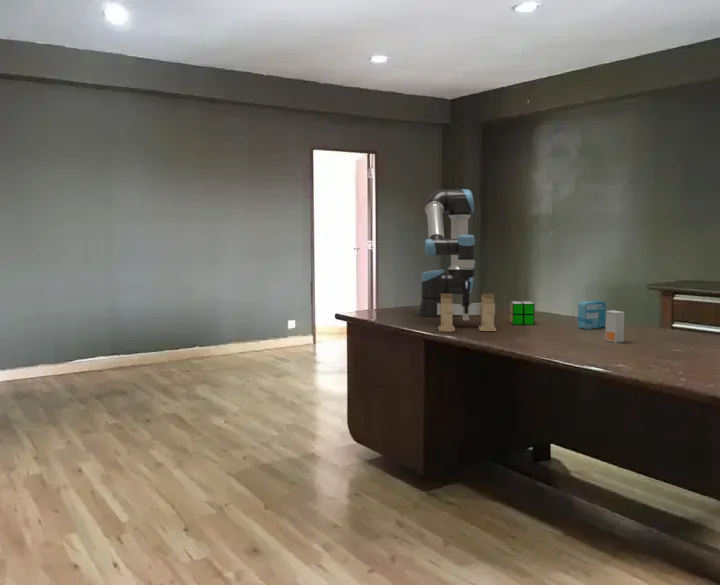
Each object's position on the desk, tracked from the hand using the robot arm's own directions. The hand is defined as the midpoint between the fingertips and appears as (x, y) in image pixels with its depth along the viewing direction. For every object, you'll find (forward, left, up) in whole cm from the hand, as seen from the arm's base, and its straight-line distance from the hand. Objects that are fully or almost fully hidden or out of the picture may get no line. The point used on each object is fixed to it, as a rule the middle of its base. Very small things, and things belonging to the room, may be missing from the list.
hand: (465, 319), depth 309 cm
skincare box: (+35, +57, -4) cm, 67 cm away
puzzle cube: (-12, +27, -4) cm, 30 cm away
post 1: (+10, -9, -3) cm, 14 cm away
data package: (+1, +56, -4) cm, 56 cm away
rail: (0, 0, +2) cm, 2 cm away
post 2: (+10, +9, -3) cm, 14 cm away
